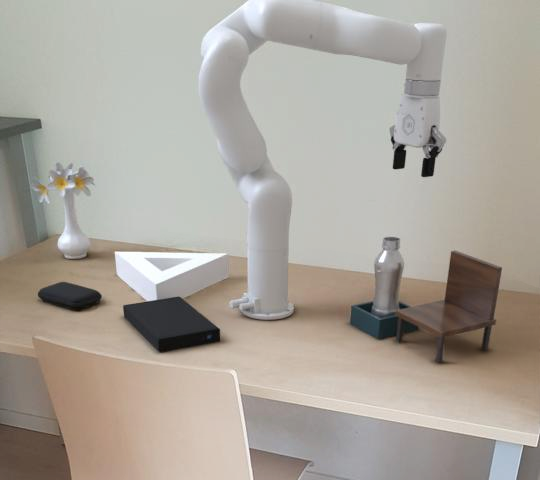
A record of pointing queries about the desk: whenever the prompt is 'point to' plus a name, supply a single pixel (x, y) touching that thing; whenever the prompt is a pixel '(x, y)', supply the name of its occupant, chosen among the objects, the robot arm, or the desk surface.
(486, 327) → the chair
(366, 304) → the rectangular frame
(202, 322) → the external hard drive
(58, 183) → the flower vase
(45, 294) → the carrying case
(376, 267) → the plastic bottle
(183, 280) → the triangle block
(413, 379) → the desk surface
